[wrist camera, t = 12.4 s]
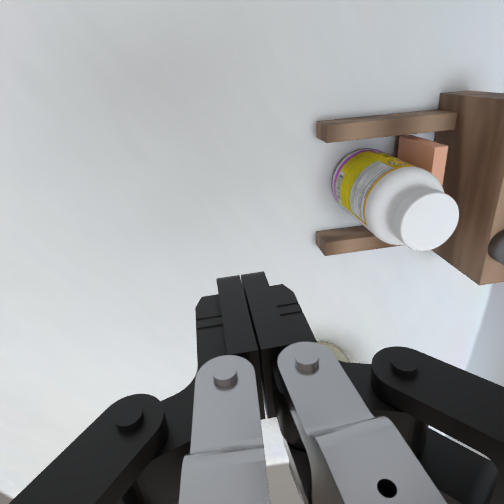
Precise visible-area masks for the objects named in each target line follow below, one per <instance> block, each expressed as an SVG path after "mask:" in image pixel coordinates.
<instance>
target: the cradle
mask: <svg viewBox="0 0 504 504" xmlns="http://www.w3.org/2000/svg"><path fill="white" fill-rule="evenodd" d="M426 132H435V138H434V142H436V143H440V144H443V145H446V146H448V152H447V159H446V165H445V172H444V178H443V185H442V187H443V190H444V193H445V194H447V195H449V196H450V197H452V198H453V199H454V200H455V202H456V204H457V206H458V209H459V219H458V223H457V226H456V228H455V230H454V232H453V233H452V235H451V236H450V237H449V238H448V239H447V240H446V241H445V242H444V243H443V244H441V245H440V246H438V247H436V248H434V249H432V251H433V252H435V253H436V254H437V255H439V256H440V257H442V258H443V259H444V260H446V261H447V262H448V263H450V264H451V265H452V266H454V267H455V268H456V269H458V270H459V271H460V272H462V273H463V274H465V275H466V276H467V277H469V278H470V279H471V280H473V281H474V282H475V283H477V284H478V285H485V284H492V283H498V282H504V93H492V92H480V91H460V92H449V93H441V94H440V102H439V109H438V110H429V111H418V112H408V113H398V114H388V115H377V116H367V117H357V118H347V119H337V120H326V121H317V138H318V139H320V140H322V141H324V142H326V143H330V142H340V141H350V140H359V139H369V138H378V137H388V136H397V135H407V134H417V133H426ZM316 244H317V246H318V247H319V248H320V250H321V251H322V253H323V254H324V255H325V256H328V255H335V254H342V253H350V252H357V251H364V250H372V249H379V248H386V247H393V246H401V245H393V244H388V243H386V242H383V241H382V240H380V239H379V238H377V237H376V236H375V235H374V234H373V233H372V232H371V231H369V230H368V229H367V228H366V227H365V226H364V225H363V226H356V227H348V228H340V229H333V230H325V231H317V232H316Z"/></svg>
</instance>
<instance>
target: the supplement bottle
mask: <svg viewBox="0 0 504 504" xmlns="http://www.w3.org/2000/svg"><path fill="white" fill-rule="evenodd" d="M332 189H333V194H334V196H335V198H336V200H337V202H338V203H339V204H340V205H341V206H342V207H343V208H344V209H345V210H346V211H348V212H349V213H350V214H351V215H352V216H353V217H355V218H356V219H357V220H358V221H359V222H360V223H361V224H363V225H364V226H365V227H366V228H367V229H368V230H369V231H371V232H372V233H373V234H374V235H375V236H376V237H377V238H379V239H380V240H382V241H383V242H386V243H388V244H393V245H406V246H408V247H409V248H411V249H413V250H417V251H427V250H432V249H434V248H436V247H438V246H440V245H441V244H443V243H444V242H445V241H446V240H447V239H448V238H449V237H450V236H451V235H452V233H453V232H454V230H455V228H456V226H457V223H458V219H459V209H458V206H457V204H456V202H455V200H454V199H453V198H452V197H450V196H449V195H447V194H445V193H444V190H443V187H442V185H441V183H440V182H439V180H438V179H437V178H436V177H435V176H434V175H433V174H432V173H430V172H428V171H426V170H424V169H422V168H419V167H417V166H414V165H412V164H410V163H407V162H405V161H403V160H400V159H398V158H395V157H393V156H391V155H388V154H386V153H383V152H381V151H378V150H374V149H361V150H358V151H355V152H353V153H351V154H349V155H348V156H347V157H345V158H344V159H343V160H342V162H341V163H340V164H339V165H338V167H337V169H336V171H335V173H334V176H333V182H332Z"/></svg>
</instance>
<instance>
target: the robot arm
mask: <svg viewBox="0 0 504 504" xmlns="http://www.w3.org/2000/svg"><path fill="white" fill-rule="evenodd" d="M241 283H242V284H241ZM217 286H218V293H219V294H217V295H211V296H205V297H202V298H201V299H200V301H199V303H198V304H197V306H196V330H197V331H196V333H197V358H198V370H197V373H196V376H195V378H194V379H193V381H192V382H191V383H190V384H189V385H188V386H187V387H186V388H185V389H184V390H182V391H181V392H179V393H177V394H175V395H174V396H171V397H169V398H167V399H165V400H163V401H159V400H158V399H157V398H156V397H154V396H152V395H148V394H134V395H130V396H127V397H124V398H122V399H120V400H118V401H116V402H115V403H113V404H112V405H111V406H110V407H109V408H107V409H106V410H105V411H104V412H103V413H102V414H101V415H100V416H99V417H98V418H97V419H96V420H95V421H94V422H93V423H92V424H91V425H90V426H89V427H88V428H87V429H86V430H85V431H84V432H83V433H81V434H80V435H79V436H78V437H77V438H76V439H75V440H74V441H73V442H72V443H71V444H70V445H69V446H68V447H67V448H66V449H65V450H64V451H63V452H62V453H61V454H60V455H59V456H58V457H57V458H56V459H55V460H54V461H53V462H51V463H50V464H49V465H48V466H47V467H46V468H45V469H44V470H43V471H42V472H41V473H40V474H39V475H38V476H37V477H36V478H35V479H34V480H33V481H32V482H31V483H30V484H29V485H28V486H27V487H26V488H25V489H24V490H23V491H22V492H20V493H19V494H18V495H17V496H16V497H15V498H14V499H13V500H12V501H11V502H10V503H9V504H271V503H270V495H269V487H268V478H267V469H266V461H265V452H264V444H263V436H262V428H261V420H262V419H265V411H264V404H265V408H266V412H267V417H268V418H273V417H277V419H278V423H279V427H280V431H281V433H282V435H283V441H284V446H285V449H286V452H287V454H288V457H289V460H290V463H291V466H292V469H293V472H294V475H295V478H296V480H297V483H298V486H299V489H300V492H301V495H302V498H303V501H304V504H504V387H502V386H500V385H498V384H495V383H493V382H491V381H488V380H486V379H483V378H481V377H478V376H476V375H474V374H471V373H469V372H467V371H464V370H462V369H459V368H457V367H455V366H452V365H450V364H448V363H445V362H443V361H440V360H438V359H436V358H433V357H431V356H428V355H426V354H424V353H421V352H419V351H416V350H414V349H410V348H406V347H388V348H385V349H382V350H380V351H379V352H377V353H376V354H375V355H374V357H373V359H372V364H360V363H349V362H343V361H339V360H337V358H336V357H335V355H334V354H333V353H332V351H331V350H330V349H328V348H327V347H325V346H323V345H321V344H318V343H317V341H316V339H315V337H314V335H313V333H312V331H311V329H310V326H309V324H308V322H307V320H306V318H305V316H304V314H303V313H302V309H301V307H300V305H299V304H298V301H297V299H296V297H295V294H294V292H293V291H291V290H290V289H289V288H287V287H286V286H284V285H283V284H281V285H274V286H269V284H268V281H267V278H266V276H265V273H264V272H257V273H250V274H244V275H241V280H240V276H239V275H237V276H230V277H224V278H218V279H217ZM263 399H264V402H263ZM428 425H430V426H432V427H434V428H435V429H437V430H439V431H441V432H443V433H445V434H447V435H449V436H451V437H453V438H454V439H456V440H458V441H460V442H462V443H464V444H466V445H468V446H469V447H471V448H473V449H475V450H477V451H479V452H481V453H482V454H484V455H486V456H487V457H488V458H489V459H491V460H488V459H486V458H484V457H482V456H480V455H478V454H477V453H475V452H473V451H471V450H469V449H467V448H465V447H463V446H462V445H460V444H458V443H456V442H454V441H452V440H450V439H448V438H447V437H445V436H443V435H441V434H439V433H437V432H435V431H434V430H432V429H430V428H428Z"/></svg>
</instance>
